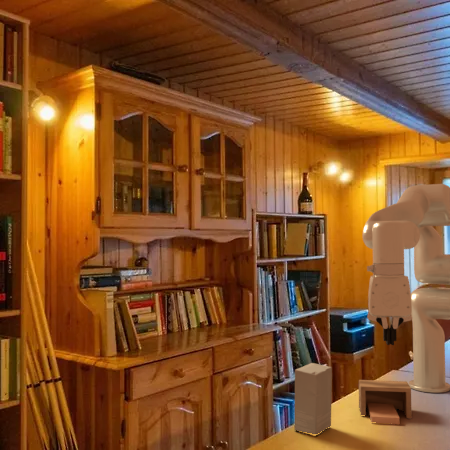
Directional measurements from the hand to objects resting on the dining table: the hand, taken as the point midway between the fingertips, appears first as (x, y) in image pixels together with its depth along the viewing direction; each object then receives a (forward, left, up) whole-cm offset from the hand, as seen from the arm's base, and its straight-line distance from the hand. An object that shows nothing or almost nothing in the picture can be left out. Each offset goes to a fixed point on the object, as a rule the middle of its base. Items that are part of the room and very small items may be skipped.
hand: (389, 343), depth 137 cm
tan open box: (-14, 0, -22) cm, 26 cm away
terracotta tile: (-11, -1, -22) cm, 25 cm away
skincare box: (+2, -19, -22) cm, 29 cm away
